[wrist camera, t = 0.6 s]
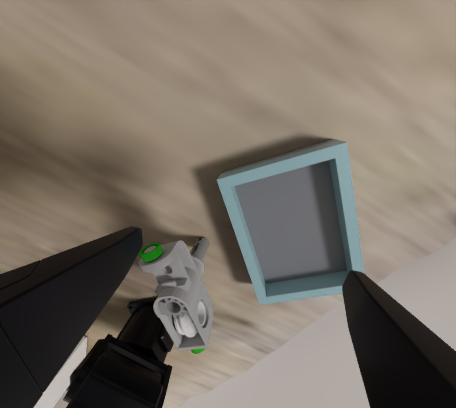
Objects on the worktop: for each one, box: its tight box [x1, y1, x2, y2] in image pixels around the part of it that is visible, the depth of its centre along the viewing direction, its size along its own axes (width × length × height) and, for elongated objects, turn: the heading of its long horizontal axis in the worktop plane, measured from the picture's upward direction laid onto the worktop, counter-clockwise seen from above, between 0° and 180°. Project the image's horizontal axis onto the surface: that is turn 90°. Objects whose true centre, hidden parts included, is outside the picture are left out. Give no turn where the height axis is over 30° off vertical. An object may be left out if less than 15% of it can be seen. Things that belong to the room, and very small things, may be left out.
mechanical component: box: [138, 237, 213, 354], centre depth 21 cm, size 3×10×10 cm, turn 18°
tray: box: [217, 139, 365, 305], centre depth 22 cm, size 11×15×3 cm
